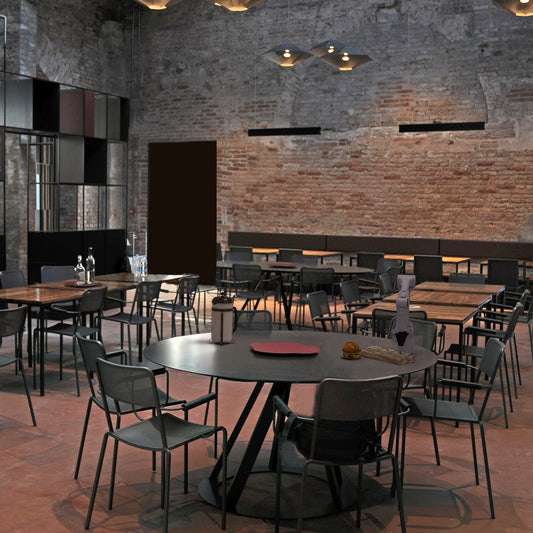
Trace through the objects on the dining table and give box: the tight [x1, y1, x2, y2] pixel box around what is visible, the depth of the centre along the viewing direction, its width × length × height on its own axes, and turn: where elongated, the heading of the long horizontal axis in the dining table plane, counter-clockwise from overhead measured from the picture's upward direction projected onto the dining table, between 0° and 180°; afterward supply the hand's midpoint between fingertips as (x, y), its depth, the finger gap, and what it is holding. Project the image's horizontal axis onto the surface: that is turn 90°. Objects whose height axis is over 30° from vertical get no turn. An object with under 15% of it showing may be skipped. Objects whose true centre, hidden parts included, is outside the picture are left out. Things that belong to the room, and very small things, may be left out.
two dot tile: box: [379, 348, 396, 355], centre depth 398 cm, size 6×6×3 cm
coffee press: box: [208, 291, 239, 346], centre depth 430 cm, size 17×16×30 cm
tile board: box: [361, 348, 417, 366], centre depth 398 cm, size 14×28×3 cm, turn 41°
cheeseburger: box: [341, 341, 363, 360], centre depth 397 cm, size 10×11×10 cm
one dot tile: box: [366, 345, 383, 352], centre depth 405 cm, size 6×6×3 cm
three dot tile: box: [392, 351, 410, 358], centre depth 391 cm, size 6×6×3 cm
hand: (400, 345), depth 391 cm, fingers closed
